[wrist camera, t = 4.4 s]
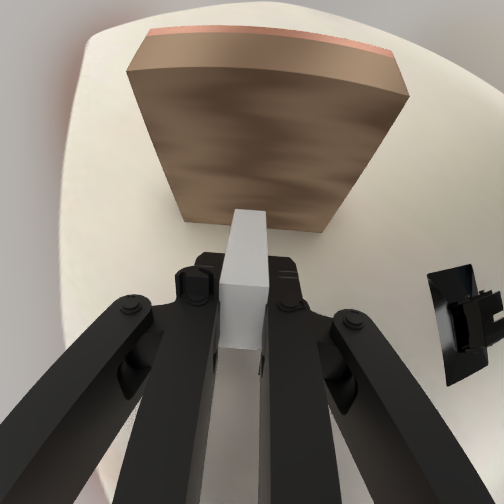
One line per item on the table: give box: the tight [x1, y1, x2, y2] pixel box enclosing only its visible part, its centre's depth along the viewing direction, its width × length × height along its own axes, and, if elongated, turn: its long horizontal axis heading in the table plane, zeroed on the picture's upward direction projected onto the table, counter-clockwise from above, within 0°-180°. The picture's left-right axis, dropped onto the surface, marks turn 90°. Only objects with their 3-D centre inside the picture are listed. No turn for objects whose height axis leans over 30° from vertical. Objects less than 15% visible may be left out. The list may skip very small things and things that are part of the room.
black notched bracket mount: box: [427, 264, 504, 386], centre depth 19 cm, size 12×7×5 cm, turn 9°
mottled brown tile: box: [126, 25, 410, 233], centre depth 16 cm, size 10×3×14 cm, turn 86°
